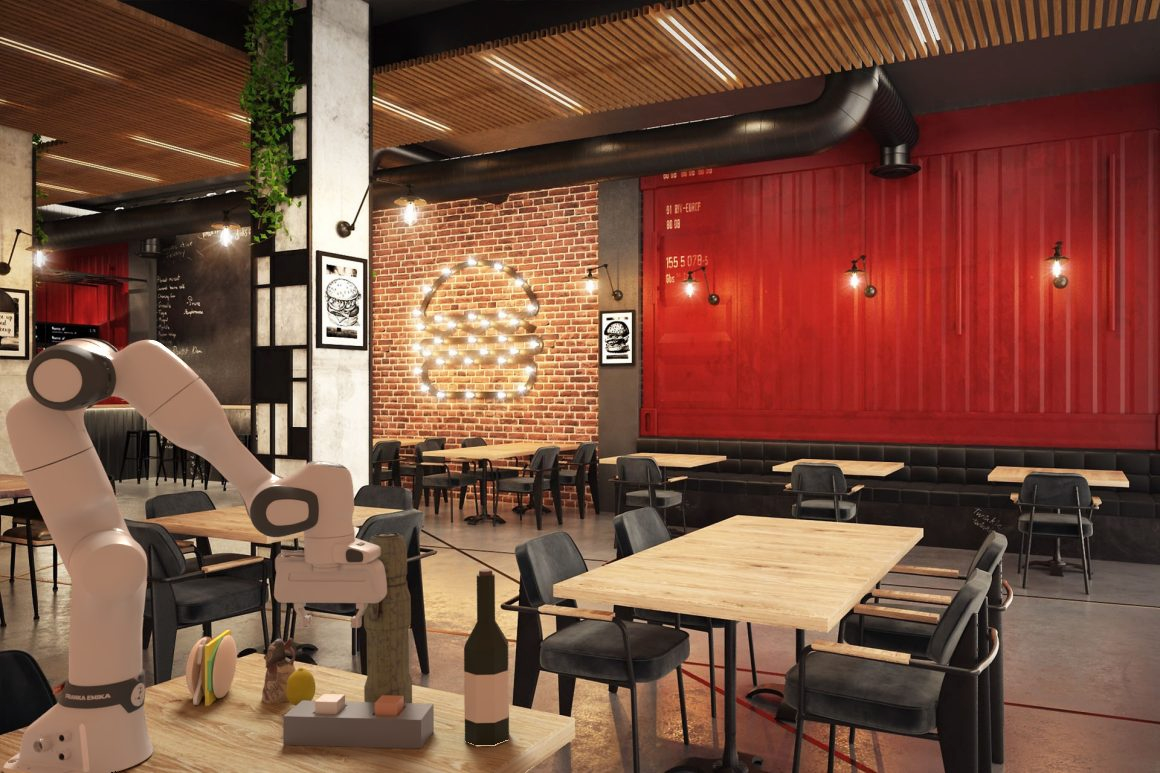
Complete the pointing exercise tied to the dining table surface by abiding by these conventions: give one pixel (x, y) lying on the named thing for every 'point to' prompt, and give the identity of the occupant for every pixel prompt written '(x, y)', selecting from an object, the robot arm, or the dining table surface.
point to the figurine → (278, 671)
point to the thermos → (389, 626)
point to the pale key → (330, 704)
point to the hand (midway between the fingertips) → (331, 626)
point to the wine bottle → (486, 671)
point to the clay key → (389, 705)
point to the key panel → (359, 726)
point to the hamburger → (211, 667)
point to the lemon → (300, 686)
